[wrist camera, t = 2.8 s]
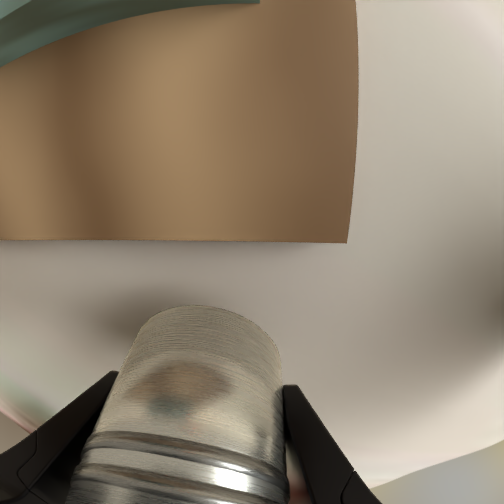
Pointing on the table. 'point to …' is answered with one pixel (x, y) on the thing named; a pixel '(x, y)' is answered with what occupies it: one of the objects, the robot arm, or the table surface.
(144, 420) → the piston
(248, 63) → the board
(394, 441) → the table surface
